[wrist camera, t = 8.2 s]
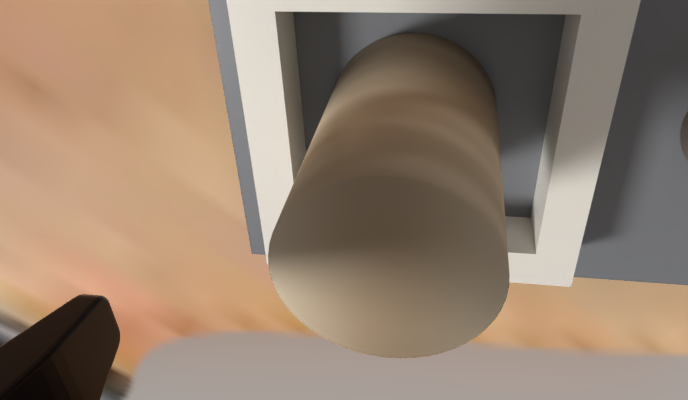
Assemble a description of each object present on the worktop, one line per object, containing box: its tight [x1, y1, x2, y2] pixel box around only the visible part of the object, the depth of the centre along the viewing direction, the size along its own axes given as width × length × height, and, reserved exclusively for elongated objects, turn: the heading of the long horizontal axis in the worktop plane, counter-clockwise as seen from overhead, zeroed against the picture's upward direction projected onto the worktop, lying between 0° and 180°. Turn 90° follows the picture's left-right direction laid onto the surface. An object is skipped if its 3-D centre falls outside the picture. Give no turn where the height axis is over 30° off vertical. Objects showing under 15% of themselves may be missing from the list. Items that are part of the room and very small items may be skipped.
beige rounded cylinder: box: [268, 33, 510, 358], centre depth 12 cm, size 4×4×6 cm
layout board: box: [208, 0, 688, 287], centre depth 14 cm, size 16×10×4 cm, turn 93°
